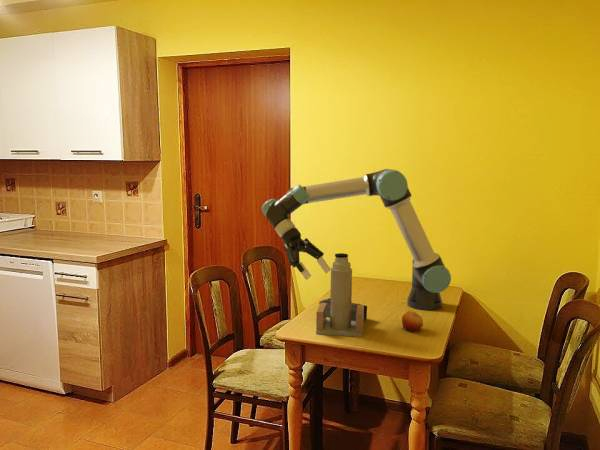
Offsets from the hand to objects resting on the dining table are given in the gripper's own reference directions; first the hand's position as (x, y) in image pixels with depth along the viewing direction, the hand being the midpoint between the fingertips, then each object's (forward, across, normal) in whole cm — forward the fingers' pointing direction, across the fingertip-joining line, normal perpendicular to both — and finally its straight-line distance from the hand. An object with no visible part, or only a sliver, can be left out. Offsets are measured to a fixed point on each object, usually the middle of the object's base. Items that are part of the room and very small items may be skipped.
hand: (318, 274), depth 200 cm
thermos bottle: (+21, 0, -6) cm, 21 cm away
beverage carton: (+17, -13, -12) cm, 24 cm away
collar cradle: (+21, 0, -7) cm, 22 cm away
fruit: (+37, -16, +9) cm, 41 cm away
